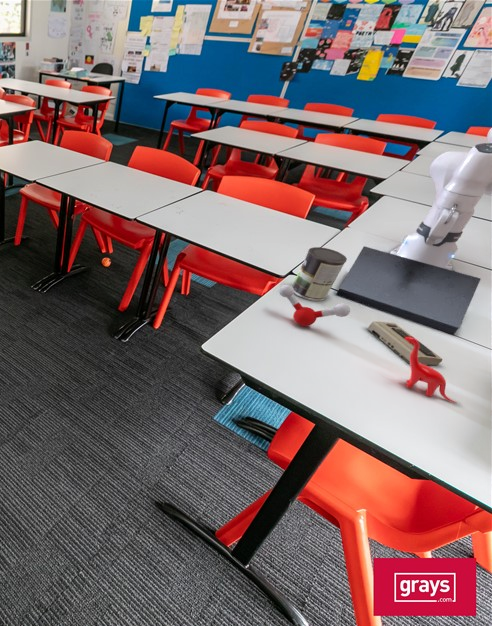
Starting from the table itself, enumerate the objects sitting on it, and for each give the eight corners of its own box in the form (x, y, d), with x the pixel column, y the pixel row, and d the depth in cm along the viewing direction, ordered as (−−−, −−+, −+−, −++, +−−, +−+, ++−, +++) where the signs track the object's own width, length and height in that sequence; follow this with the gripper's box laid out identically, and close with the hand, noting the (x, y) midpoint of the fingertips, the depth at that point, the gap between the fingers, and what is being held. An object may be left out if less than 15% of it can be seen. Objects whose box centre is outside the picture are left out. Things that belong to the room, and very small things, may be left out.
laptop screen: (362, 247, 143) (363, 246, 142) (479, 280, 127) (481, 278, 126) (338, 290, 136) (339, 288, 136) (457, 330, 120) (459, 328, 119)
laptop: (349, 273, 150) (351, 268, 149) (457, 307, 134) (461, 302, 133) (335, 294, 138) (338, 289, 136) (453, 334, 121) (457, 329, 120)
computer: (439, 365, 109) (447, 355, 107) (410, 365, 109) (418, 356, 107) (392, 329, 122) (398, 320, 120) (366, 329, 122) (371, 320, 120)
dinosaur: (456, 408, 97) (492, 368, 90) (378, 378, 104) (405, 339, 97) (455, 399, 99) (490, 359, 92) (379, 370, 107) (406, 331, 100)
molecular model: (337, 333, 119) (354, 304, 114) (332, 341, 116) (349, 312, 110) (272, 308, 129) (284, 280, 124) (266, 315, 126) (279, 286, 120)
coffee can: (286, 292, 138) (304, 253, 130) (296, 281, 144) (314, 244, 136) (321, 305, 132) (342, 265, 124) (330, 293, 138) (350, 255, 130)
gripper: (469, 212, 118) (439, 256, 125) (470, 197, 130) (443, 238, 138) (440, 206, 121) (413, 249, 129) (444, 192, 134) (419, 232, 141)
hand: (428, 243), depth 134 cm, fingers closed
